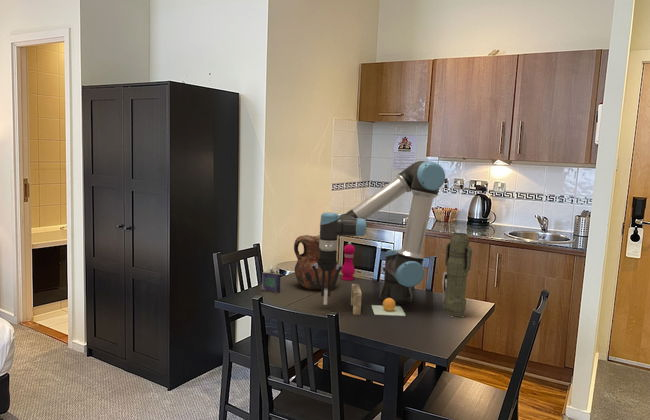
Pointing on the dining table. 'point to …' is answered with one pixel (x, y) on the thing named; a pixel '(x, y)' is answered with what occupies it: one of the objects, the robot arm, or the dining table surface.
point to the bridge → (356, 299)
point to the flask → (271, 281)
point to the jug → (309, 263)
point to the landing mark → (381, 311)
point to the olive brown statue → (457, 274)
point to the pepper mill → (348, 263)
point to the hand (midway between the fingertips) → (325, 303)
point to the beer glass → (444, 286)
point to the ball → (389, 304)
